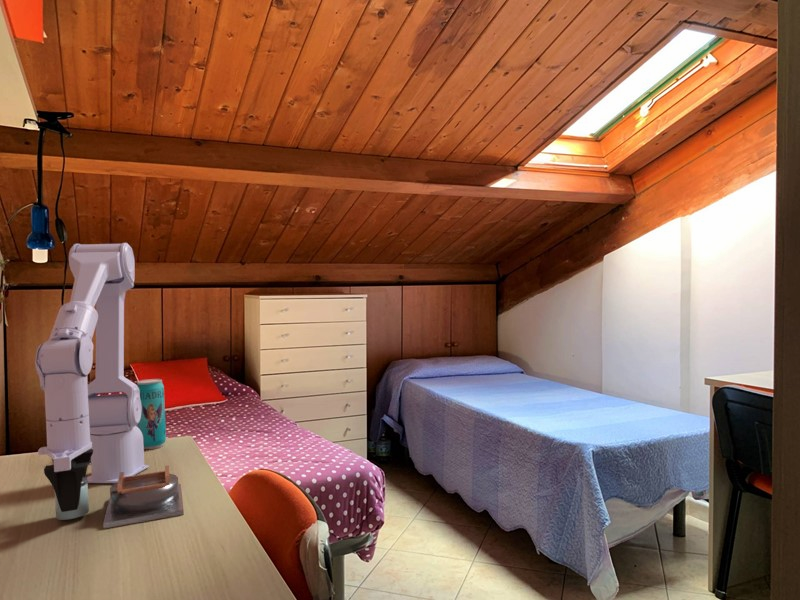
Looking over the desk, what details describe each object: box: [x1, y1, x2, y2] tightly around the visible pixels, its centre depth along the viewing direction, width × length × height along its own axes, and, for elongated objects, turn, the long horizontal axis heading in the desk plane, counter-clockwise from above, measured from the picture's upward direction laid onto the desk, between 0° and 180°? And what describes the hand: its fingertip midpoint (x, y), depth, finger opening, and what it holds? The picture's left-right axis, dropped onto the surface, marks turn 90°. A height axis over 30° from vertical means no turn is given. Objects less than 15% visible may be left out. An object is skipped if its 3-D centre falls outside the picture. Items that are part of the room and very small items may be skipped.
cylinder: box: [54, 477, 90, 521], centre depth 87 cm, size 4×4×5 cm
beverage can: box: [136, 378, 167, 450], centre depth 126 cm, size 6×6×15 cm
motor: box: [102, 465, 185, 530], centre depth 90 cm, size 13×11×5 cm
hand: (72, 504), depth 87 cm, fingers closed on cylinder, 4 cm apart
